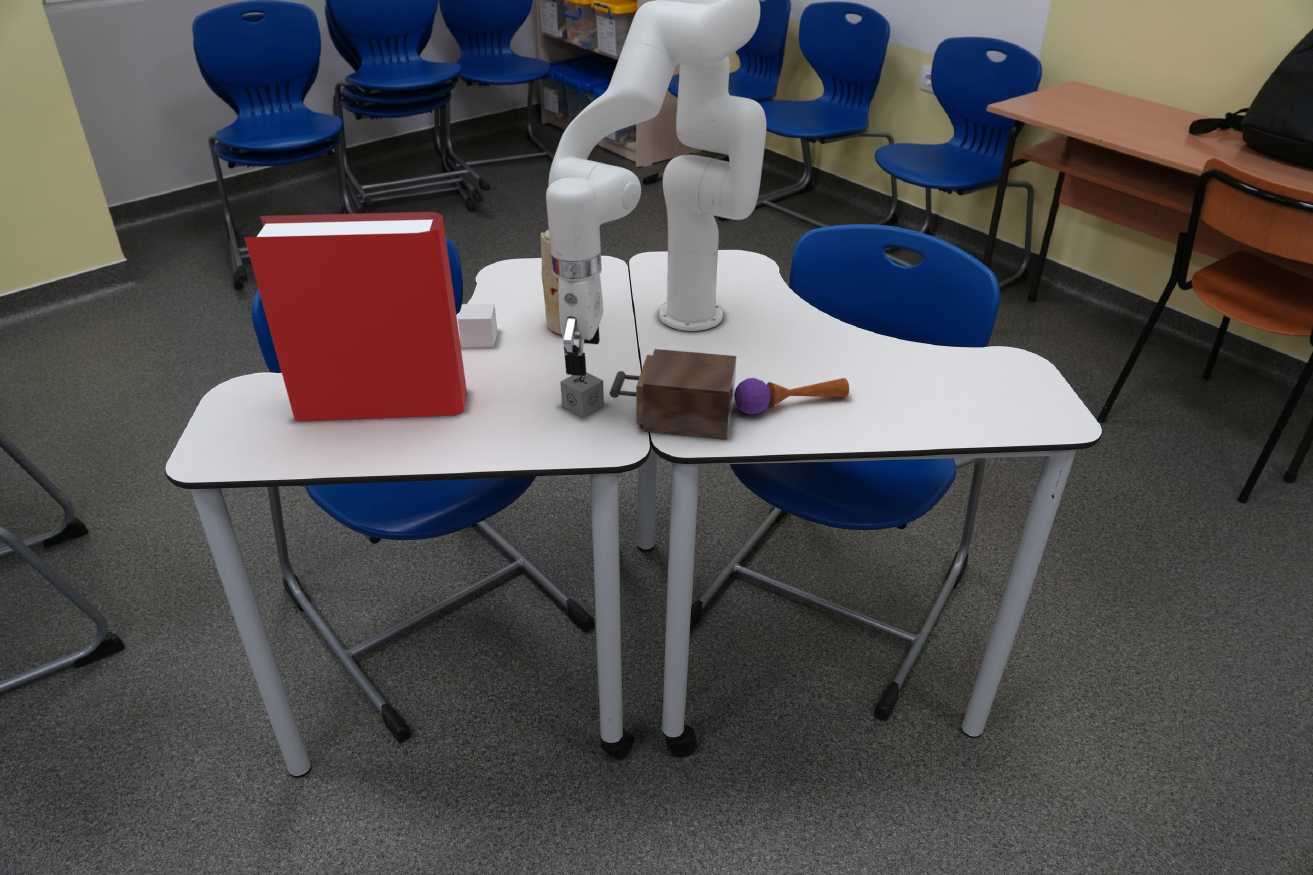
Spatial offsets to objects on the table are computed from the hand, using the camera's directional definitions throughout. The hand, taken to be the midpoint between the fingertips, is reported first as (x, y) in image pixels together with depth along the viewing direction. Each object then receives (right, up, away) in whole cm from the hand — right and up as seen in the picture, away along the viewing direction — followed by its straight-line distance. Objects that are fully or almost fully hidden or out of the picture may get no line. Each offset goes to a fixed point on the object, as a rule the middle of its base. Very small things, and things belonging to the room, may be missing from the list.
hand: (583, 358), depth 148 cm
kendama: (+34, -8, +5) cm, 36 cm away
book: (-34, -8, +5) cm, 35 cm away
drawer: (+13, -8, +2) cm, 16 cm away
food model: (-6, +9, +28) cm, 30 cm away
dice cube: (0, -8, +5) cm, 9 cm away
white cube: (-21, +5, +23) cm, 32 cm away
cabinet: (+17, -9, +2) cm, 20 cm away
